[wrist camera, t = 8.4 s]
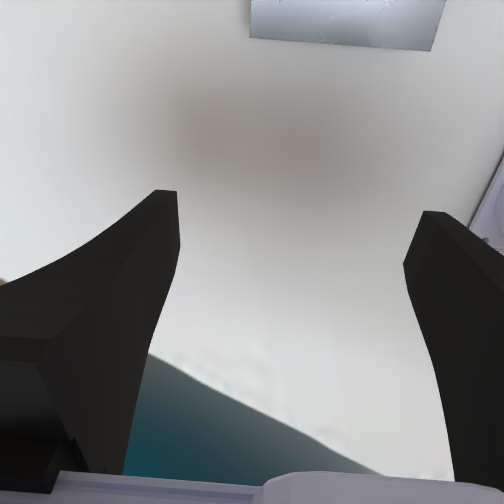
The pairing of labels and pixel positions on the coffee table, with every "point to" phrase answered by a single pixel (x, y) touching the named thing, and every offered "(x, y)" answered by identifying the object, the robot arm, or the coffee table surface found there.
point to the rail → (349, 22)
